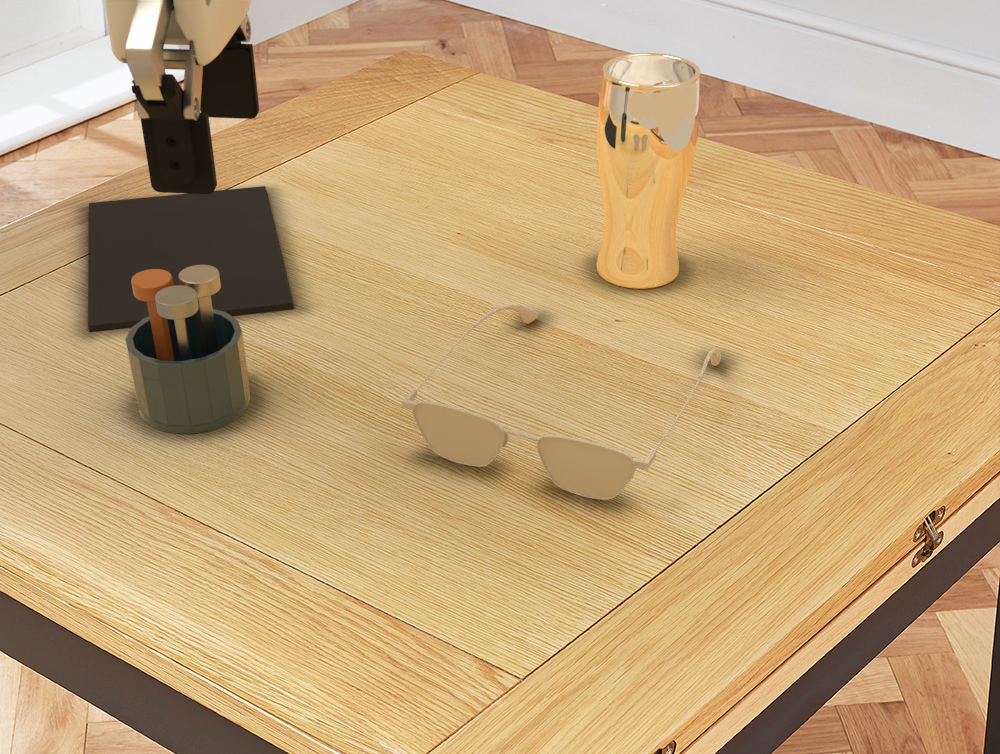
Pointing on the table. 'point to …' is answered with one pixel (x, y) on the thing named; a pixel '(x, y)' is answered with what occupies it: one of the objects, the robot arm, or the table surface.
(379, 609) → the table surface
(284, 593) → the table surface
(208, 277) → the beige disc-head peg
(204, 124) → the robot arm
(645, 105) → the beer glass
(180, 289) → the cream disc-head peg
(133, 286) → the orange disc-head peg
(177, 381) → the cup
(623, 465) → the eyeglasses
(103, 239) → the mat
